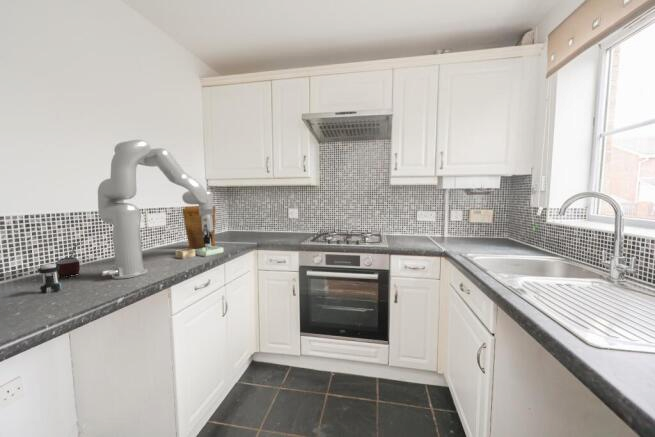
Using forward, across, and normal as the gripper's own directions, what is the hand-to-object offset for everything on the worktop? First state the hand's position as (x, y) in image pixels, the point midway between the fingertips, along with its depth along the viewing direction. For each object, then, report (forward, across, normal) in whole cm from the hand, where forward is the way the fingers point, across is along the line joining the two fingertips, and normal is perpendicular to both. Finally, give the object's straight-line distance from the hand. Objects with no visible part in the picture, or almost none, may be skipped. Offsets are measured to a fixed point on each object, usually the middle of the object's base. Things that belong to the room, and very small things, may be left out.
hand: (208, 242), depth 150 cm
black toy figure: (+7, -47, +47) cm, 66 cm away
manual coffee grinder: (+7, -26, +52) cm, 58 cm away
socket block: (+7, -4, +11) cm, 14 cm away
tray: (+7, 0, 0) cm, 7 cm away
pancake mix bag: (+7, +20, +7) cm, 22 cm away
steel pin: (+6, 0, 0) cm, 6 cm away
